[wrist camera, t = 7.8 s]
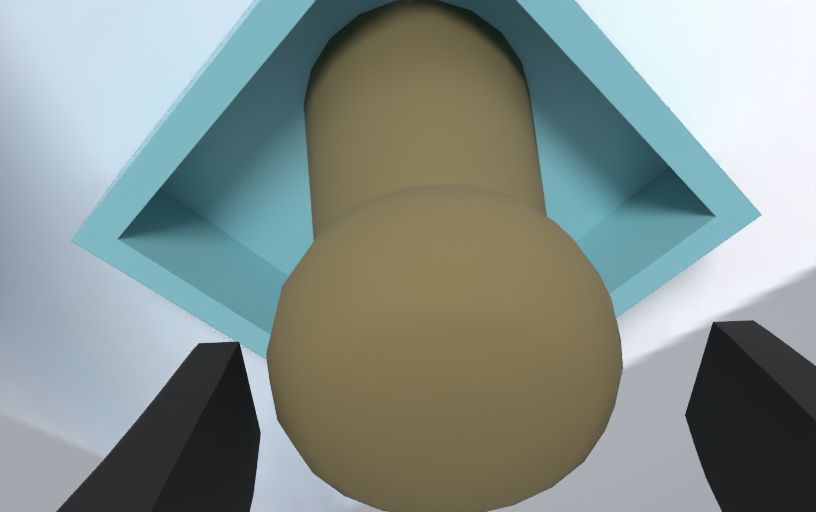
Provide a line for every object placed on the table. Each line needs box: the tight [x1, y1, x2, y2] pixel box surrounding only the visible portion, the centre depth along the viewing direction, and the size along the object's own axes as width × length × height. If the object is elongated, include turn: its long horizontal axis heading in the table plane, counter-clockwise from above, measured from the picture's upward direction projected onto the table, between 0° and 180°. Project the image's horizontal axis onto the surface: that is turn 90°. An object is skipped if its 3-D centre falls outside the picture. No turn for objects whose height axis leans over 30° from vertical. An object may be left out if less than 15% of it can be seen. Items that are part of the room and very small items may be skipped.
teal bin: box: [71, 0, 761, 359], centre depth 18 cm, size 12×12×4 cm
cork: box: [266, 0, 623, 512], centre depth 13 cm, size 6×6×11 cm
